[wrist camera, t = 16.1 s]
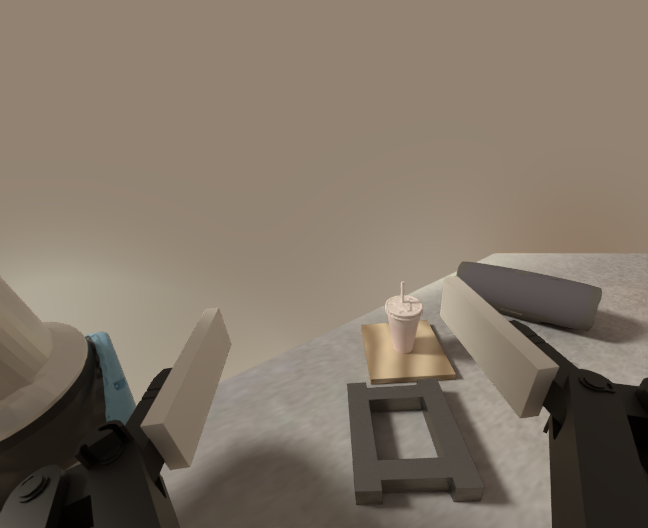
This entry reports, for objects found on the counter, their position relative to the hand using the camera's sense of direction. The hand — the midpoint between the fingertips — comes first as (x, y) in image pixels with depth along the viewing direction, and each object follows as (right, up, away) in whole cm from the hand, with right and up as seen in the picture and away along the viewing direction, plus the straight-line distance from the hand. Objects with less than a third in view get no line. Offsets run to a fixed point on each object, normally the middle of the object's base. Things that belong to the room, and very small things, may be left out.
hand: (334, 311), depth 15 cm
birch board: (+14, -14, +35) cm, 40 cm away
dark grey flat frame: (+10, -22, +21) cm, 32 cm away
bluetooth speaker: (+40, -8, +41) cm, 58 cm away
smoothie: (+14, -13, +34) cm, 40 cm away
